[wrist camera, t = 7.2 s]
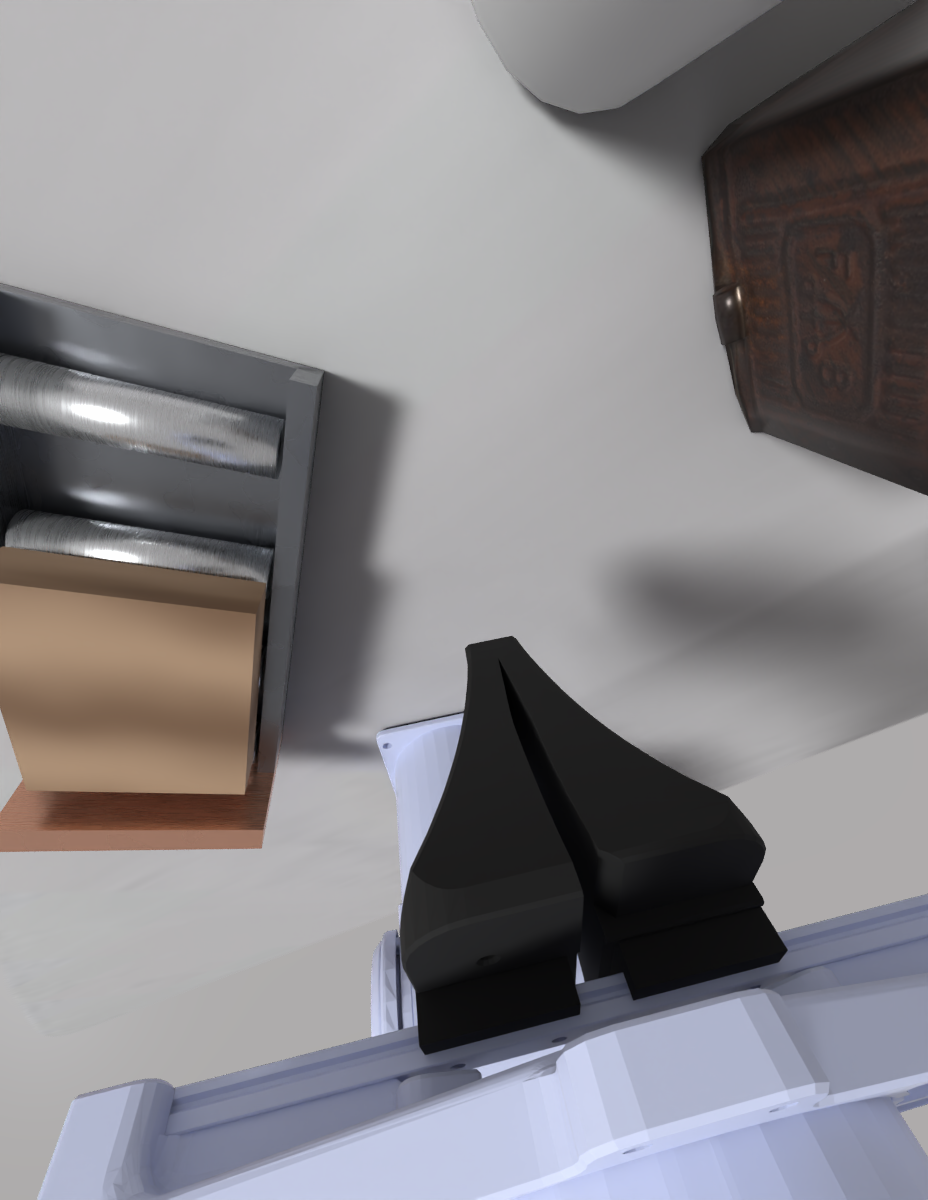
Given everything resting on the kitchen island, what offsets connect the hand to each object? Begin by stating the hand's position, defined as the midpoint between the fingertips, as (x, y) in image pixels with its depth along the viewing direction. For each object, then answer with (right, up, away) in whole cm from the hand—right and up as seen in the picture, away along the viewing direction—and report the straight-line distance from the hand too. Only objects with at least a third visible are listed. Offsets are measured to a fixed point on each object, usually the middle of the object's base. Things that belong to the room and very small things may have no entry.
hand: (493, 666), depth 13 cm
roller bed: (-13, +3, +7) cm, 15 cm away
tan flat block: (-13, -1, +6) cm, 15 cm away
